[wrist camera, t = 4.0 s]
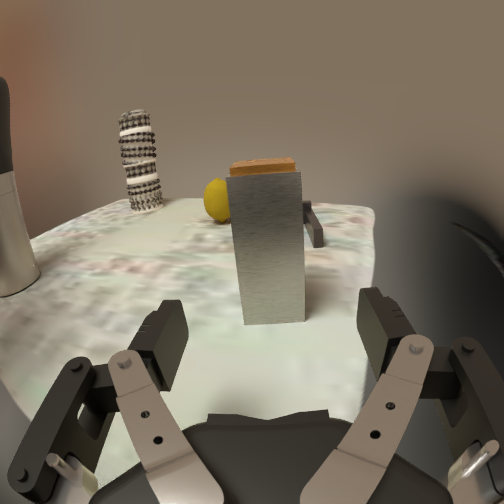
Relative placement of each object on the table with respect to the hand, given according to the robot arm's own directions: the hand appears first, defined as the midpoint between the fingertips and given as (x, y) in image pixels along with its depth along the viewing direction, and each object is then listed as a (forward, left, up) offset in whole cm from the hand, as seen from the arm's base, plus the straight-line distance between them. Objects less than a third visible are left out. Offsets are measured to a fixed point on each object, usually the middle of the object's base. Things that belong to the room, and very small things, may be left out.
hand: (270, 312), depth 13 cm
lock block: (+8, +8, -7) cm, 13 cm away
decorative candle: (+18, +61, -7) cm, 64 cm away
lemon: (+21, +33, -7) cm, 40 cm away
